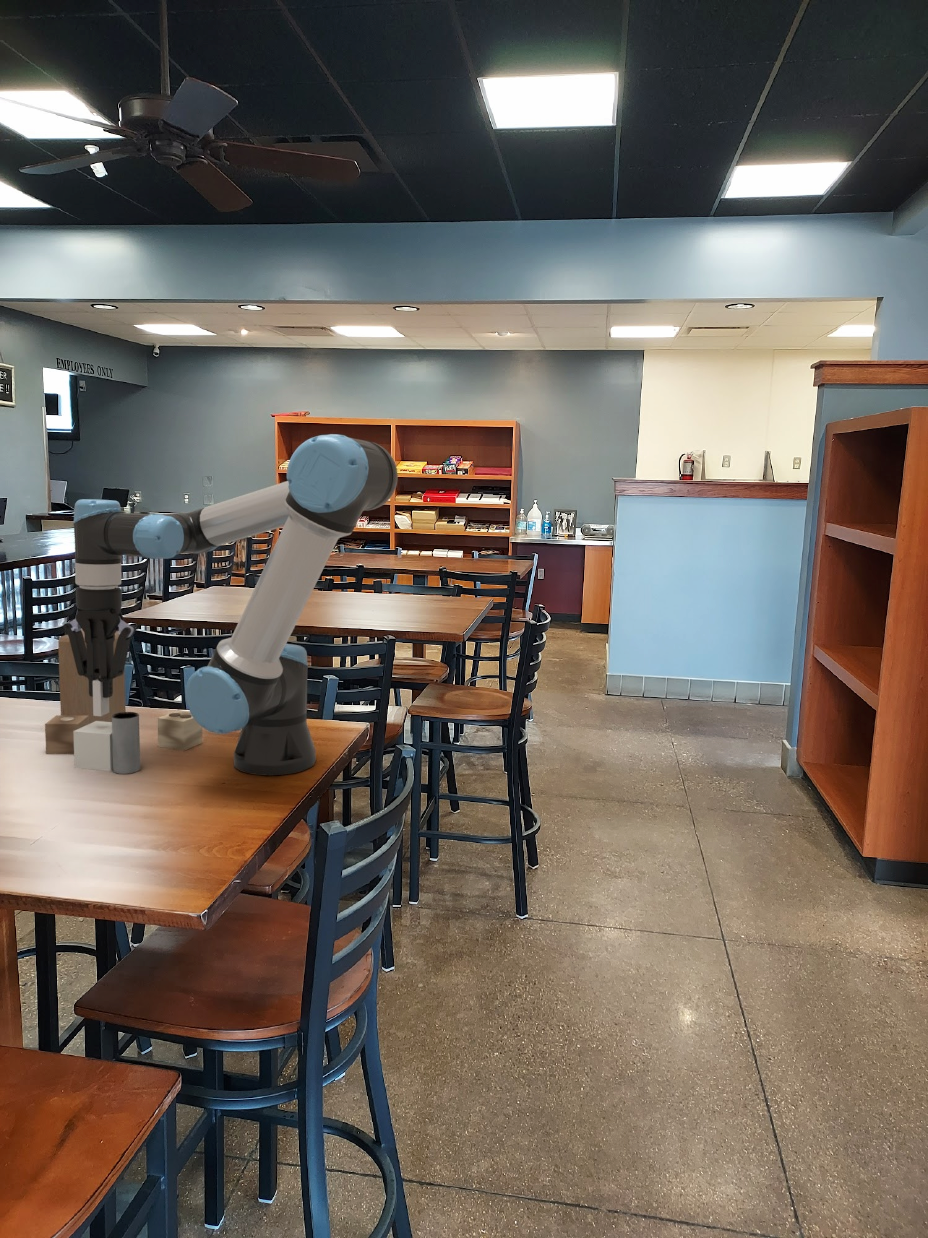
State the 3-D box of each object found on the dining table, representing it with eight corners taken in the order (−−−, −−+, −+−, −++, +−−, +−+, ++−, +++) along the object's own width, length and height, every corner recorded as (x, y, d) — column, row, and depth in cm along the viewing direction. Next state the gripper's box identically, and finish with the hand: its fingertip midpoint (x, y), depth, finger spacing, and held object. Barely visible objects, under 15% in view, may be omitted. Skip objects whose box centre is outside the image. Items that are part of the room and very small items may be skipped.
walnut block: (89, 744, 161) (88, 714, 160) (79, 754, 155) (78, 723, 154) (57, 745, 160) (56, 714, 159) (46, 754, 154) (44, 723, 153)
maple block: (202, 742, 165) (202, 713, 164) (183, 751, 159) (183, 720, 158) (177, 739, 167) (176, 709, 166) (158, 747, 161) (157, 717, 160)
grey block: (131, 759, 153) (130, 723, 152) (110, 771, 146) (109, 734, 145) (97, 756, 154) (96, 720, 153) (74, 768, 147) (73, 731, 146)
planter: (145, 768, 148) (144, 714, 147) (126, 776, 144) (124, 719, 143) (127, 764, 150) (125, 710, 149) (107, 771, 146) (105, 716, 145)
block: (107, 733, 168) (104, 638, 165) (59, 731, 168) (55, 636, 165) (127, 720, 178) (125, 630, 175) (82, 718, 178) (79, 628, 175)
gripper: (143, 586, 148) (145, 711, 152) (77, 582, 150) (80, 706, 153) (121, 591, 141) (123, 722, 144) (51, 586, 142) (55, 716, 146)
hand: (101, 714), depth 149 cm, fingers closed
